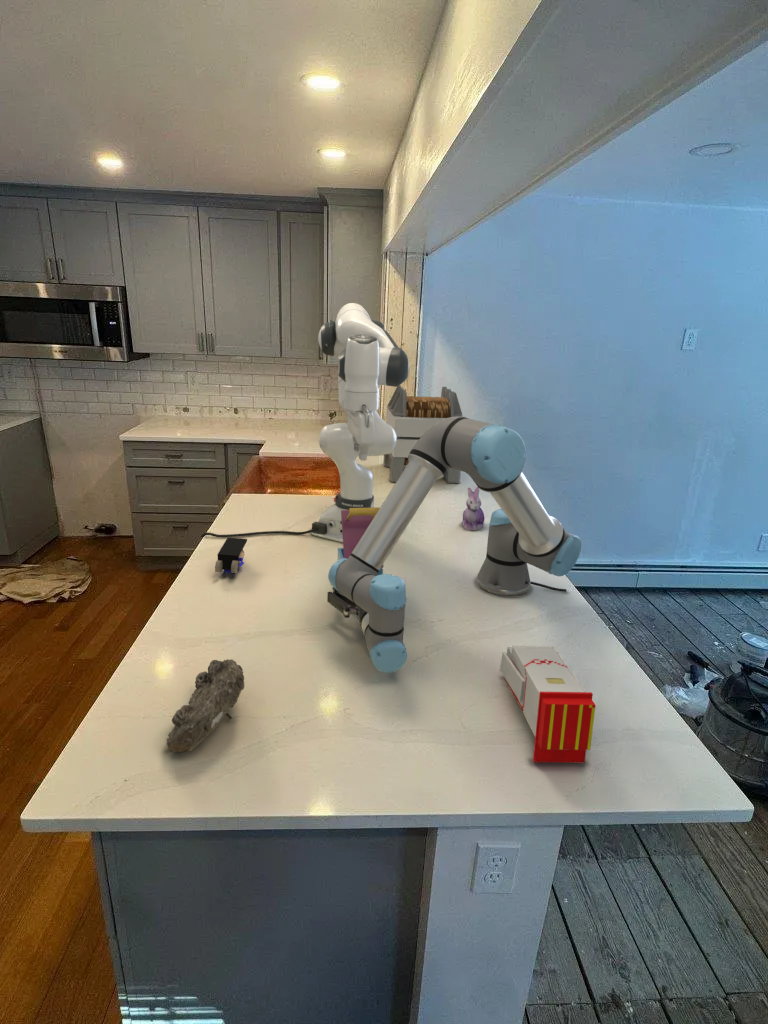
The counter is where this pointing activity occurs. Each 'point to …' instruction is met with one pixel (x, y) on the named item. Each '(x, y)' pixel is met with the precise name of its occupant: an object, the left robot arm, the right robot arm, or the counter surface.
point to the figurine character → (230, 556)
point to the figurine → (473, 511)
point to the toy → (550, 702)
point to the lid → (355, 526)
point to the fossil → (206, 705)
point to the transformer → (417, 425)
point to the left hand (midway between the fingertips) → (359, 455)
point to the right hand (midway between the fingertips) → (361, 580)
